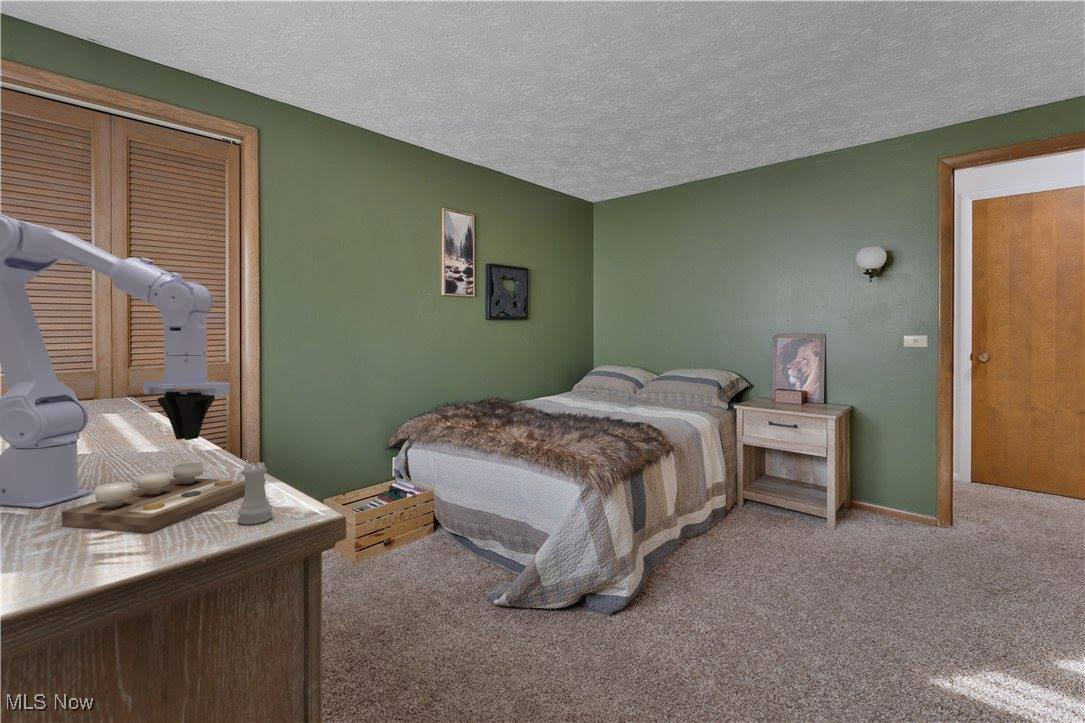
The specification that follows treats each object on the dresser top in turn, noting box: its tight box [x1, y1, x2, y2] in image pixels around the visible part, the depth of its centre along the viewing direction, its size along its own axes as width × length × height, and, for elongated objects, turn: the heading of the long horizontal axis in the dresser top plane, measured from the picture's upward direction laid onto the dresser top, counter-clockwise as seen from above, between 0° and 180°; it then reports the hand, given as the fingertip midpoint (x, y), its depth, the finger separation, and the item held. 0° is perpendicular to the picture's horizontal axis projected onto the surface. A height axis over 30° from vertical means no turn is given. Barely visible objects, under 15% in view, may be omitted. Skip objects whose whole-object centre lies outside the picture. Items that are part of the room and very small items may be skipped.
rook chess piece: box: [236, 461, 274, 526], centre depth 71 cm, size 4×4×8 cm
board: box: [61, 477, 245, 534], centre depth 77 cm, size 14×18×2 cm
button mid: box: [136, 470, 171, 495], centre depth 77 cm, size 4×4×3 cm
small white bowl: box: [172, 462, 204, 484], centre depth 83 cm, size 4×4×3 cm
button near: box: [94, 481, 134, 507], centre depth 71 cm, size 4×4×3 cm
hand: (187, 438), depth 82 cm, fingers closed
